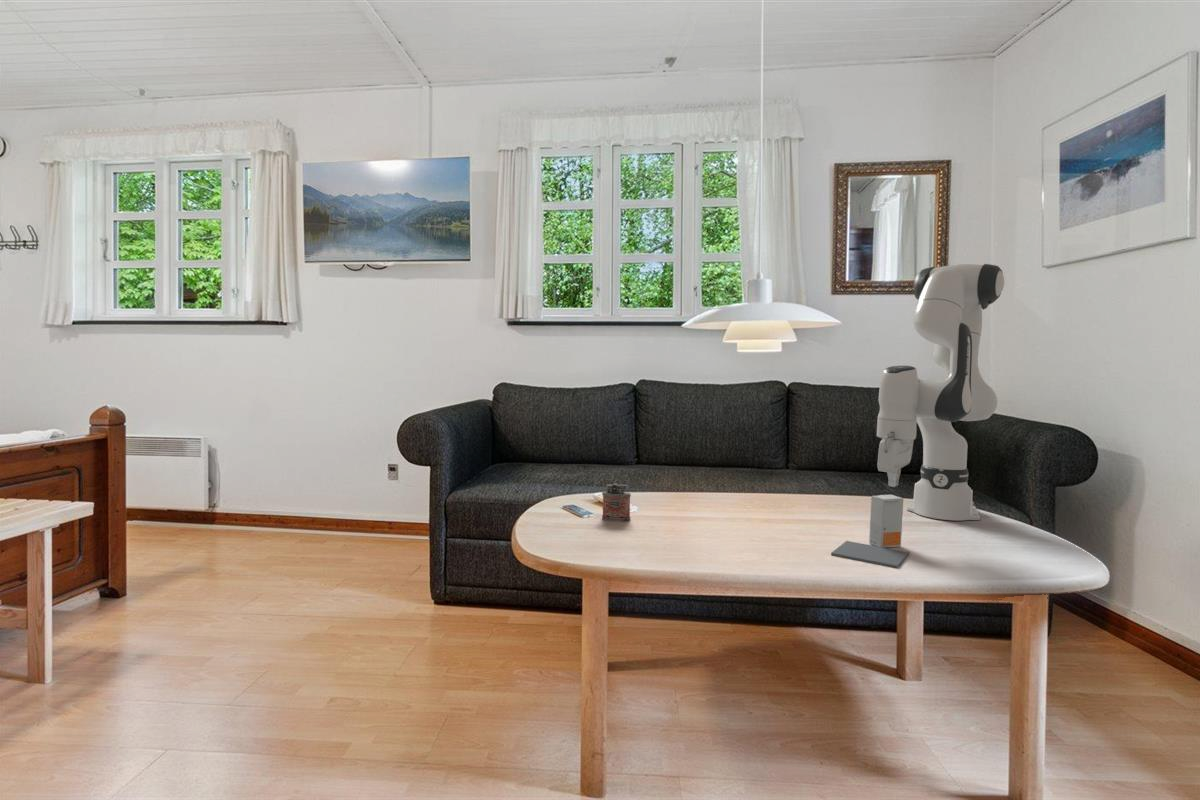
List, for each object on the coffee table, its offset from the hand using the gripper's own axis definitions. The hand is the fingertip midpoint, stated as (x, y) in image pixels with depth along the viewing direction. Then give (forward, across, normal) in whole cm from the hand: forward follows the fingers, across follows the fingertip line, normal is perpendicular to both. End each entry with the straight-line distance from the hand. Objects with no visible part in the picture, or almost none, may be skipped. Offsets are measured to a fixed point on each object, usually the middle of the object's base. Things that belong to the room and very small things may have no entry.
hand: (893, 485), depth 153 cm
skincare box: (+14, -6, 0) cm, 15 cm away
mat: (+14, -16, +1) cm, 21 cm away
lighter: (+15, -28, +65) cm, 72 cm away
